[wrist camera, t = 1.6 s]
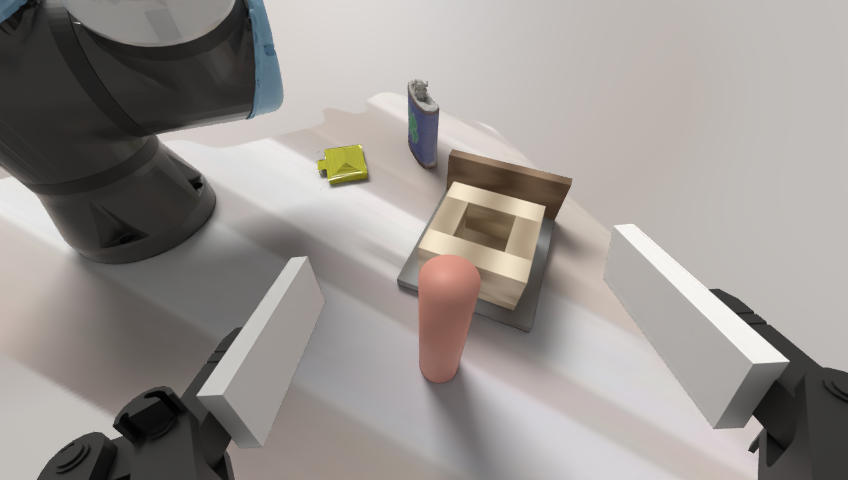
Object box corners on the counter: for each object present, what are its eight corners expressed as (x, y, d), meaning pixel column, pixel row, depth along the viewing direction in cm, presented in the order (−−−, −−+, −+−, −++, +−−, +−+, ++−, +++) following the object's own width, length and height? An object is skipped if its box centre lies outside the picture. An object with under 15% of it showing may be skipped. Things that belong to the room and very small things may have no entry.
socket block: (418, 276, 33) (418, 247, 29) (450, 213, 39) (453, 181, 35) (513, 310, 30) (526, 283, 27) (532, 237, 36) (545, 206, 32)
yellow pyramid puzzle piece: (380, 187, 45) (378, 171, 42) (314, 198, 43) (308, 182, 41) (369, 147, 51) (367, 131, 48) (311, 155, 49) (306, 139, 47)
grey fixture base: (397, 283, 34) (393, 246, 29) (448, 189, 43) (452, 149, 38) (529, 332, 30) (550, 299, 25) (553, 219, 40) (572, 178, 35)
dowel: (413, 373, 28) (408, 294, 17) (428, 338, 30) (432, 247, 19) (450, 389, 27) (470, 317, 16) (463, 352, 29) (488, 265, 18)
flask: (439, 167, 46) (442, 95, 38) (420, 171, 46) (419, 98, 38) (421, 133, 52) (421, 64, 44) (404, 136, 51) (400, 67, 43)
